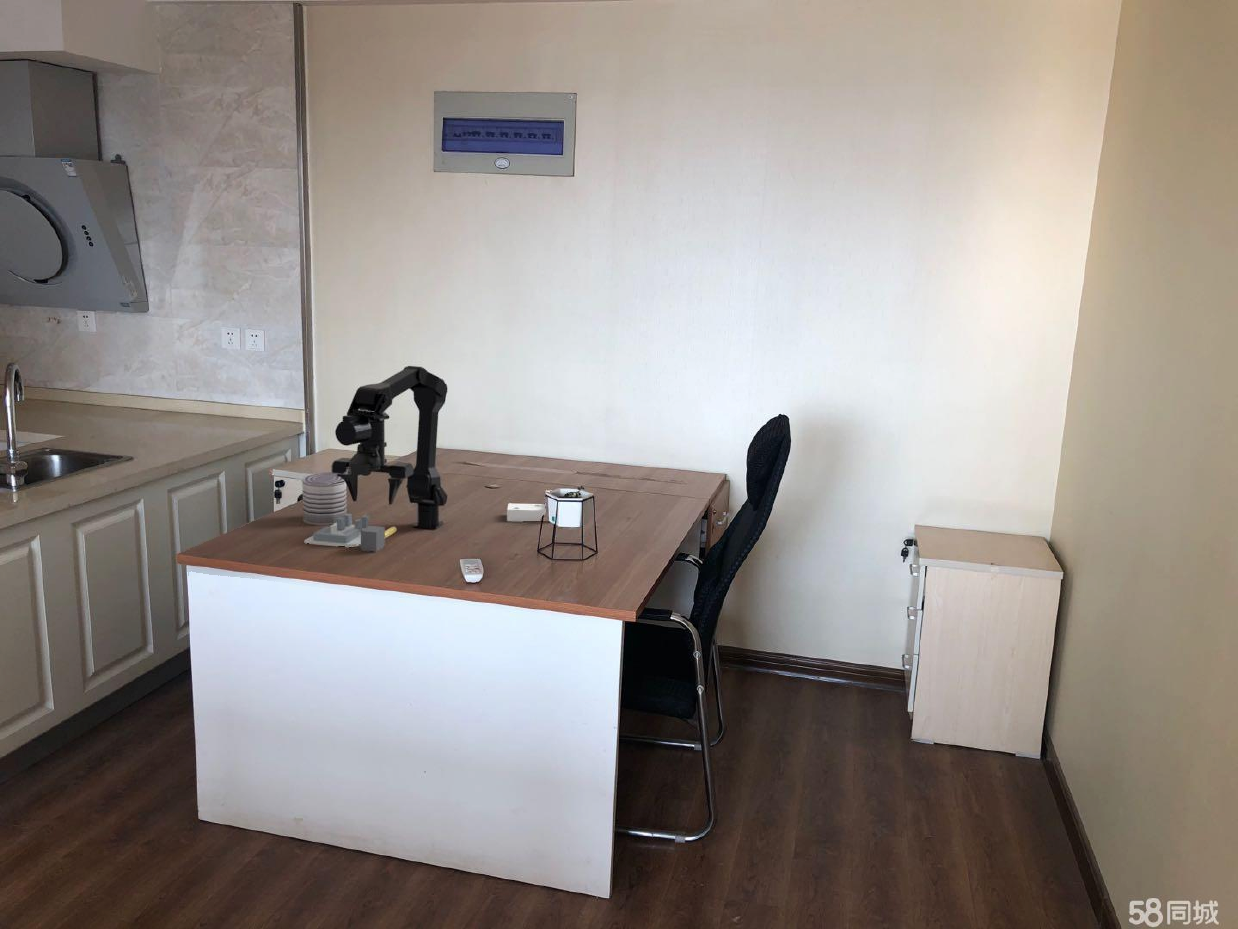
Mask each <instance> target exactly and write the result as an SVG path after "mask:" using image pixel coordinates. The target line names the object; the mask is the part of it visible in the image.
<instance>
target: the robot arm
mask: <svg viewBox="0 0 1238 929" xmlns="http://www.w3.org/2000/svg"><path fill="white" fill-rule="evenodd" d="M408 390H410V391H412V393H413V401H414V404H415V406H416V407H417V409H418V410H417V411H418V422H417V423H418V426H417V440H416V441H417V442H416V459H415V460H416V461H415V466H413V464H412V463H411V462H401V461H396V462H395V463H393V464H387V460H388V459H387V458H385V457H386V455H385V454H386V453H385V451H386V449H385V448H386V447H387V445H388V443H387V442H385V441H386V440H385V438H386V437H385V421H386V420H388V419H390V415H389V414H388V413H387V412H386V411H387V409H388V408H389V407H390V406H392V404H393V400H394V399H395V398H396V397H398V396H400V395H402V394H403V393H404V392H406V391H408ZM447 394H448V385H447V383H446V382H445V380H444V379H443V378H440V377H439V376H437V375H435V374H433V373H431V372H429V371H428V370H427V369H426V368H424V367H422V366H417V365H416V366H415V365H407V366H404V368H403V369H401V370H400V371H398V372H397V373H395V374H393V375H392V376H390V377H388V378H386V379H384V380H383V381H381V382H378V383H372V384H365V385H362V386H361V385H360V386H359V387H358V388H357V390H356V391H355V393H354V396H353V398H352V400H351V403H350V405H349V408H348V410H347V412H346V415H343V416H342V421H340V422H339V423H338V424H337V426H336V428H335V438H336V439H337V441H338V442H339V443H340V445H342V446H353V445H357V448H356V453H355V454H354V455H353V456H352V457H341V458H339V459H336V460H333V461H332V463H331V468H330V469H331V471H330V472H332V473H338V474H337V476H338V477H341V478H342V479H343V480H344V481H345V483H346V488H347V490H348V492H349V494H350V496H351V499H352V502H356V501H357V500H358V486H359V484H358V483H359V482H358V479H359V476H360V475H361V476H362V477H368V476H370V475H371V474H372V473H383V474H384V473H385V474H388V475H389V476H390V477H388V478H387V481H388V484H389V487H388V504H389V505H390V506H391V505H393V504H394V501H395V498H396V496H397V494H398V490H399V488H400V486H401V484H402V483H403V481H404V480H405V479H407V482H406V491H407V494H408V500H409V503H410V504H417V508H416V511H417V514H416V515H417V516H416V518H417V519H416V521H417V522H415V523H414V524H413V525H412V528H416V529H417V528H420V529H430V530H436V529H438V528H440V527H441V526H442V525H443V524H444V521H442V520H440V506H441V507H443V506H444V507H445V505H446V504H447V502H448V501H447V500H448V494H447V492H445V490H444V489H443V487H442V485H441V484H442V482H441V481H442V479H441V476H440V474H439V472H438V469H437V468H436V460H437V459H436V458H437V457H436V456H437V455H436V454H437V442H438V425H439V412H440V411H441V409H442V408H443V406H444V405H445V403H446V399H447V398H446V397H447Z"/></svg>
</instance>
